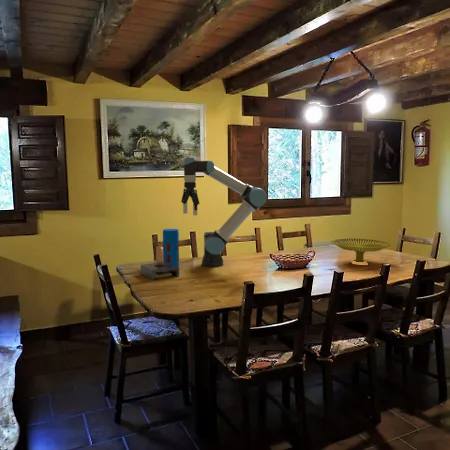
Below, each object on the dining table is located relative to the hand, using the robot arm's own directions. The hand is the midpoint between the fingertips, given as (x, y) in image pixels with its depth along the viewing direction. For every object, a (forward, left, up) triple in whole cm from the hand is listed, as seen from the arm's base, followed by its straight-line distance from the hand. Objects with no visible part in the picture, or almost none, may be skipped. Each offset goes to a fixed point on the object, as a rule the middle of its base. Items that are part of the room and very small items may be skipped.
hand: (190, 214), depth 290 cm
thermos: (+6, -17, -37) cm, 41 cm away
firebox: (+24, +4, -37) cm, 44 cm away
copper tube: (+24, +4, -37) cm, 44 cm away
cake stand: (-110, +47, -37) cm, 125 cm away
